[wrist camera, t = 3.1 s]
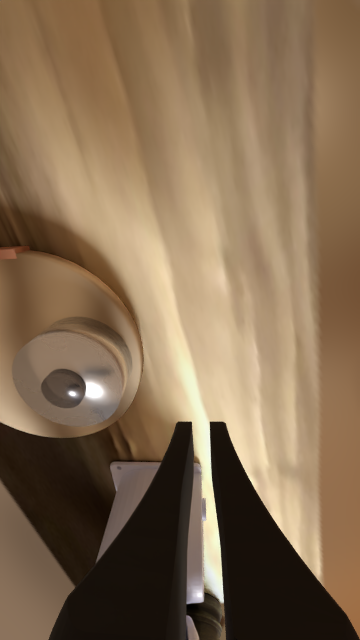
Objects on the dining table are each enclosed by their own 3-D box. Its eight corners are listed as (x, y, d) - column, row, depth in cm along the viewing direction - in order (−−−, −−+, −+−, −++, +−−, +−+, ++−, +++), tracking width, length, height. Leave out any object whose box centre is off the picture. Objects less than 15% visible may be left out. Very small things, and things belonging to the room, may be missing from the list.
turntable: (126, 239, 16) (120, 241, 15) (154, 424, 23) (151, 438, 22) (-94, 253, 18) (-118, 257, 16) (-9, 424, 24) (-22, 437, 23)
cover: (124, 314, 17) (106, 340, 14) (138, 396, 20) (126, 433, 17) (26, 318, 18) (-13, 343, 14) (53, 397, 20) (26, 433, 17)
